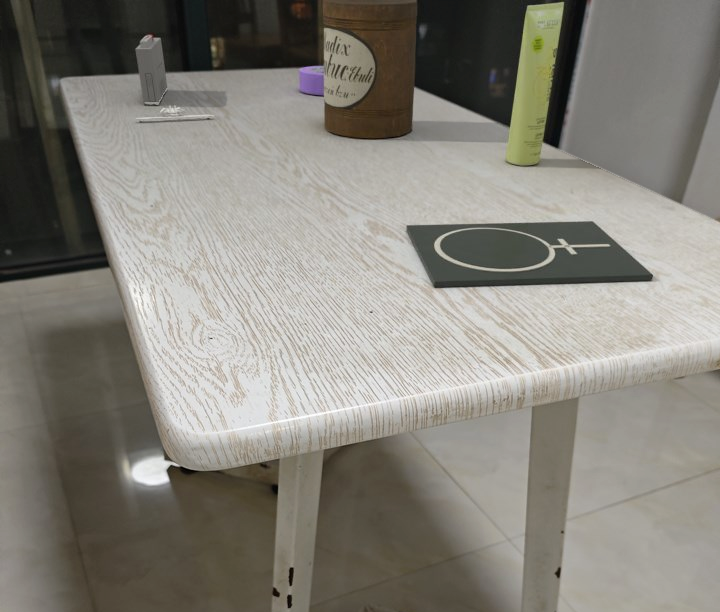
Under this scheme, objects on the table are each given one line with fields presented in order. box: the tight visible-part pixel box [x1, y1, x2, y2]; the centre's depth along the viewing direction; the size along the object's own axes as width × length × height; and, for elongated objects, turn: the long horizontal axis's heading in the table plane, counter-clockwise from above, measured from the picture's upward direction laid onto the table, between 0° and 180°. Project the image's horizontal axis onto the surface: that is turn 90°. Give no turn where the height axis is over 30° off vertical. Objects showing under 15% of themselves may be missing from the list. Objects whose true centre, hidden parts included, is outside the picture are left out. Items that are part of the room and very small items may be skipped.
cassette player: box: [134, 34, 168, 103], centre depth 134 cm, size 16×3×10 cm, turn 6°
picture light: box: [135, 105, 216, 119], centre depth 122 cm, size 14×4×2 cm, turn 108°
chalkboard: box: [405, 220, 654, 288], centre depth 75 cm, size 22×16×1 cm
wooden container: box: [322, 0, 418, 140], centre depth 112 cm, size 15×15×22 cm
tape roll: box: [298, 65, 324, 96], centre depth 144 cm, size 12×12×4 cm
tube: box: [505, 1, 565, 166], centre depth 98 cm, size 6×5×20 cm
